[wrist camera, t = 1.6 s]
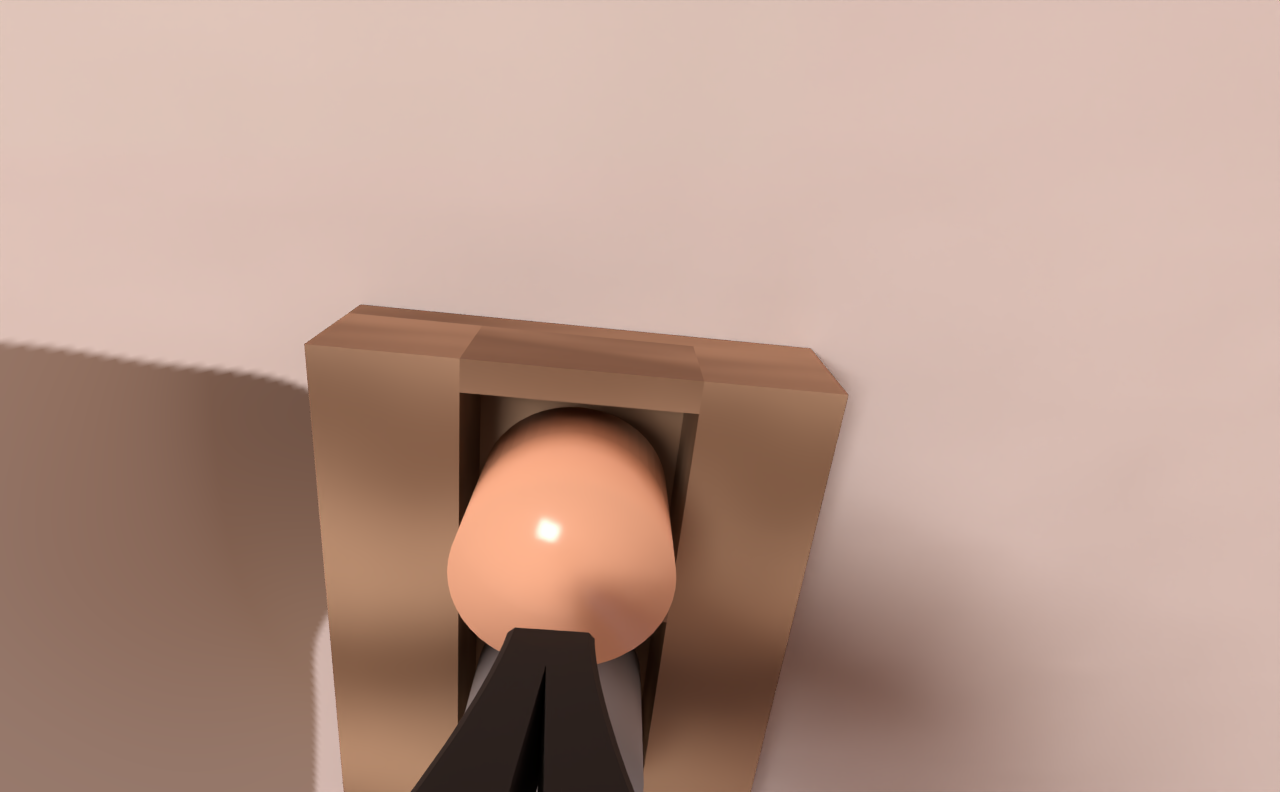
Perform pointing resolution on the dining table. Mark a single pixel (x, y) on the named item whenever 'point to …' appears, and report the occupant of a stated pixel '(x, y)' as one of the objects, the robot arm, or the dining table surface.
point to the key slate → (620, 700)
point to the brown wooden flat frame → (448, 473)
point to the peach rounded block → (567, 534)
